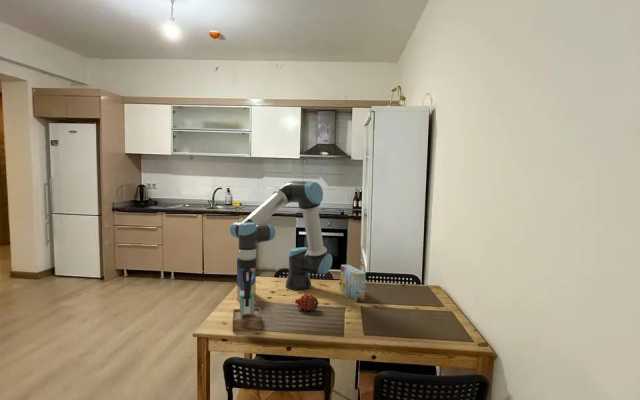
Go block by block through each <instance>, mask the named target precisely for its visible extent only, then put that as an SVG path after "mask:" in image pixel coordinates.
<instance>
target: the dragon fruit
mask: <svg viewBox="0 0 640 400" xmlns="http://www.w3.org/2000/svg"><path fill="white" fill-rule="evenodd" d="M294 304H296V306H297V308H298V309H302V310H303V311H304V312H307V311H308V312H312V311H313V310H316V309H318V308H319V307H318V305H319V304H320V303H319V300H318V299H317V297H315V296H314V295H312V294H310V293H309V294H305V293H304V294H303V295H301V297H300V298H297V299H296V300H295V301H294Z"/></svg>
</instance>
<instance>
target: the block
mask: <svg viewBox="0 0 640 400" xmlns="http://www.w3.org/2000/svg"><path fill="white" fill-rule="evenodd" d="M250 297H251V298H250V313H254V308H255V295H254V291H250ZM242 298H244V291H240V300H239V309H240V314H244V299H242ZM247 314H249V313H247Z"/></svg>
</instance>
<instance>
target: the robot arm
mask: <svg viewBox="0 0 640 400" xmlns="http://www.w3.org/2000/svg"><path fill="white" fill-rule="evenodd" d="M323 197H324V190H323V188H322V186H321V185H320V183H318V182H316V181H312V180H311V181H310V180H308V181H307V180H303V181H299V180H298V181H297V180H293V181H289V182H286V183H285V184H283V185H281V186H279V187H278V188H276V190H274V191H273V193H272V195H271V196H270V197H268V199H266V200H265V201H264V202H263V203H261V205H259V206H258V207H257V208H256V209H255V210H254V211H252V212H251V213H250V214H249V215H248V216H246V217H245V218H244V219H243V220H241V222H239V221H237V222H236V221H235V222H233V223H232V224H231V225H230V227H229V233H230V236H231V237H233V238H234V239H235V238H237V239H238V250H237V251H236V252H237V254H238V258H240V259H239V261H238V266H239V268H241V269H244V271H243V282H244V298H242V299H244V314H247V313H250V298H251V297H250V291H251V290H250V282H251V276H252V271H250V269H251V268H255V267H256V266H257V244H258V243H263V242H264V243H265V242H269V241H272V240H274V238H275V237H276V229H275V227H274V226H273V224H267V223H266V221H267V220H269V219H270V217H271V216H272V215H274V214H275V213H276V212H277V211H278V210H279V209H280V208H281V207H285V206H286V205H287V204H289V203H290V204H291V203H296V204H298V208H299V209H300V210H301V211H302V216H303V223H304V229H305V234H306V241H307V247H303V246H302V247H294V248H291V249H290V250H289V252H288V253H289V254H288V275H287V279H286V282H285V287H286V288H287V289H289V290H292V291H306V290H308V289H310V288H311V287H312V281H311V277H310V273H309V272H311V273H315V274H319V275H321V274H323V275H326V274H327V273H329V272H330V271H331V270H330V269H331V268H332V265H333V256H332V255H331V254H330V253H328V249H327V247H326V246H325V245H324V240H323V234H322V227H321V226H322V225H321V219H320V214H319V207H320V206H321V203H322V201H323V199H324V198H323ZM264 222H265V223H266V224H263V223H264ZM255 258H256V259H255ZM256 268H257V267H256Z"/></svg>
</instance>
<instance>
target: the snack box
mask: <svg viewBox="0 0 640 400" xmlns="http://www.w3.org/2000/svg"><path fill="white" fill-rule="evenodd" d="M366 277H367V274H366V272H364V271H362V270H360V269H358V268H356V267H354V266H352V265H351V264H341V265H340V285H339V286H340V287H339V288H340V289H339V290H340V291H341V292H343V293H344V294H345V295H347V296H348V297H350V298H351V299H353V300H354V301H355V302H364V301H366V299H365V296H366V280H367V279H366Z"/></svg>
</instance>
